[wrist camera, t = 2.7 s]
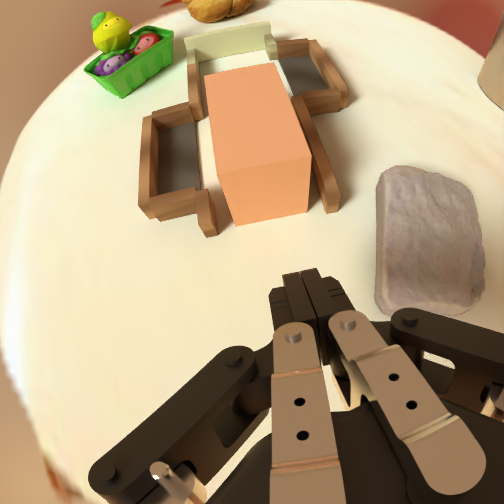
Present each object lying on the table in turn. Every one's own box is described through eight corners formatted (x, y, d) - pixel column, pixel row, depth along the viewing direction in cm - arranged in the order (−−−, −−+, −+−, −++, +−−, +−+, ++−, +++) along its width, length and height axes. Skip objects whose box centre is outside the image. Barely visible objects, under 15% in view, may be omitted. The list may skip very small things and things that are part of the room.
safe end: (272, 48, 35) (270, 24, 32) (191, 64, 36) (183, 41, 32) (271, 45, 36) (268, 21, 32) (190, 60, 36) (183, 37, 32)
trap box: (390, 202, 25) (398, 186, 23) (150, 249, 26) (138, 237, 24) (308, 44, 35) (308, 29, 33) (155, 74, 36) (149, 60, 34)
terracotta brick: (307, 212, 26) (311, 155, 19) (235, 227, 26) (216, 174, 19) (278, 121, 30) (273, 62, 23) (220, 132, 30) (203, 75, 23)
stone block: (451, 204, 27) (365, 180, 26) (479, 182, 22) (387, 149, 22) (458, 325, 23) (361, 315, 22) (494, 317, 18) (392, 306, 18)
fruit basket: (119, 108, 34) (81, 42, 24) (92, 91, 37) (59, 35, 27) (185, 60, 37) (164, -7, 26) (152, 48, 39) (129, -8, 29)
